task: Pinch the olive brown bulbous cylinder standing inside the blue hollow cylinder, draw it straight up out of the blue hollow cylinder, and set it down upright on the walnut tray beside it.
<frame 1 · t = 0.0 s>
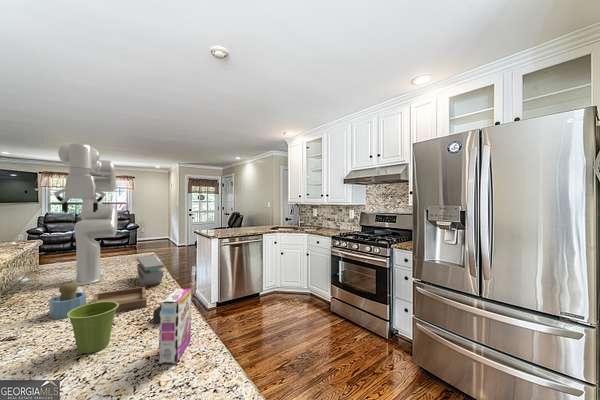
hand: (80, 212, 114), 37 cm above the countertop, tool pointing down, fingers open, 9 cm apart
smart speaker: (167, 319, 95), on the countertop
plant pot: (93, 347, 76), on the countertop
candy bar box: (176, 352, 74), on the countertop
tray: (120, 303, 107), on the countertop
olive brown bulbous cylinder: (68, 313, 99), resting in blue hollow cylinder
blue hollow cylinder: (68, 312, 99), on the countertop
grey lidded box: (149, 282, 135), on the countertop
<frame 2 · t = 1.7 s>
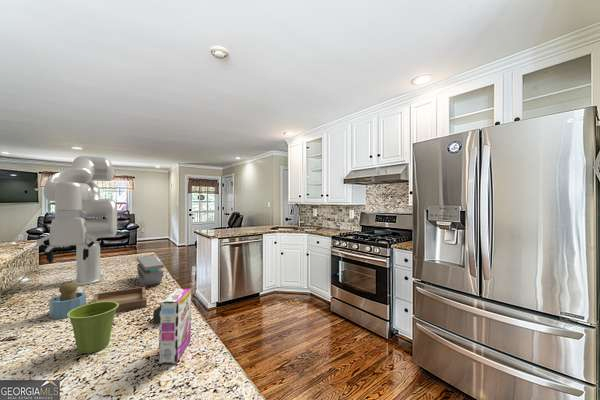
hand: (68, 260, 98), 20 cm above the countertop, tool pointing down, fingers open, 9 cm apart
nothing on the countertop moved.
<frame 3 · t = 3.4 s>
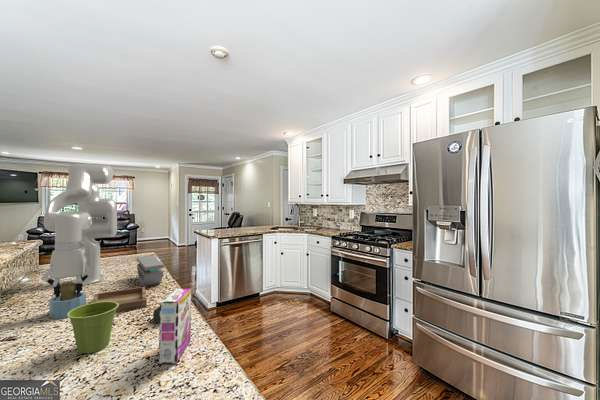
hand: (68, 294, 98), 7 cm above the countertop, tool pointing down, fingers closed on olive brown bulbous cylinder, 5 cm apart
olive brown bulbous cylinder: (68, 313, 99), resting in blue hollow cylinder, touching gripper
everything else where it was.
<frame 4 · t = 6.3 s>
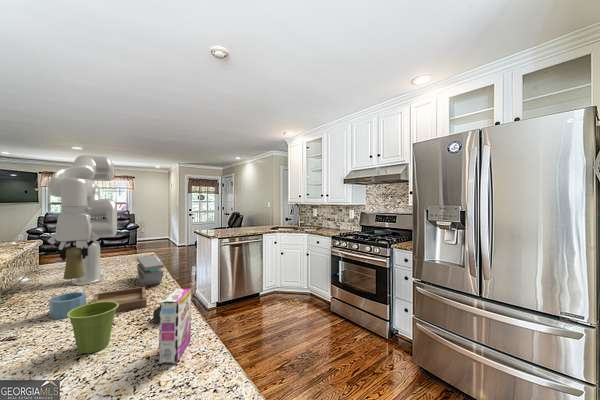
hand: (74, 258, 99), 20 cm above the countertop, tool pointing down, fingers closed on olive brown bulbous cylinder, 5 cm apart
olive brown bulbous cylinder: (74, 277, 99), point 13 cm above the countertop, touching gripper
everything else where it was.
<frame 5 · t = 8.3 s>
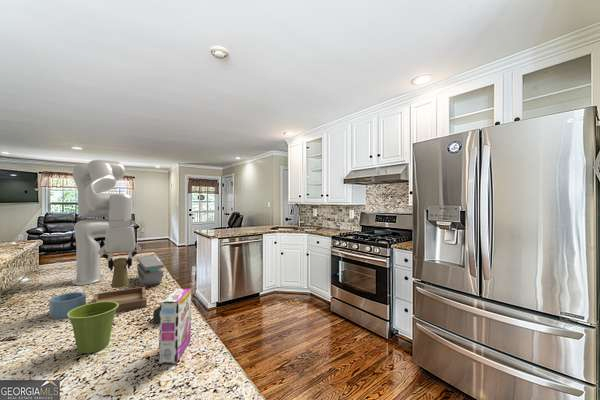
hand: (120, 268, 107), 15 cm above the countertop, tool pointing down, fingers closed on olive brown bulbous cylinder, 5 cm apart
olive brown bulbous cylinder: (120, 286, 107), point 7 cm above the countertop, touching gripper
everything else where it was.
when the fingers open (9 cm above the countertop, at t = 9.6 s): olive brown bulbous cylinder drops 1 cm, resting on tray.
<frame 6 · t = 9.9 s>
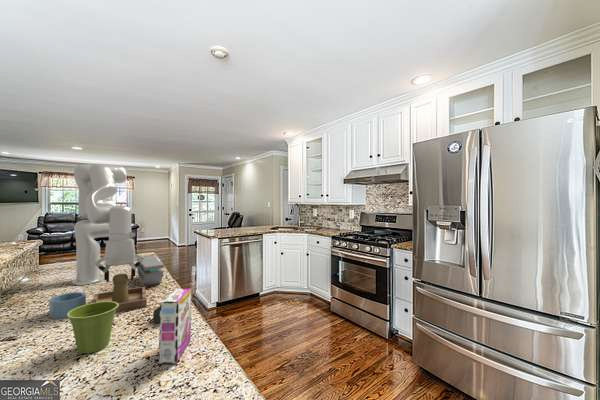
hand: (120, 279, 107), 10 cm above the countertop, tool pointing down, fingers open, 7 cm apart
olive brown bulbous cylinder: (120, 301, 107), point 1 cm above the countertop, touching tray
everything else where it was.
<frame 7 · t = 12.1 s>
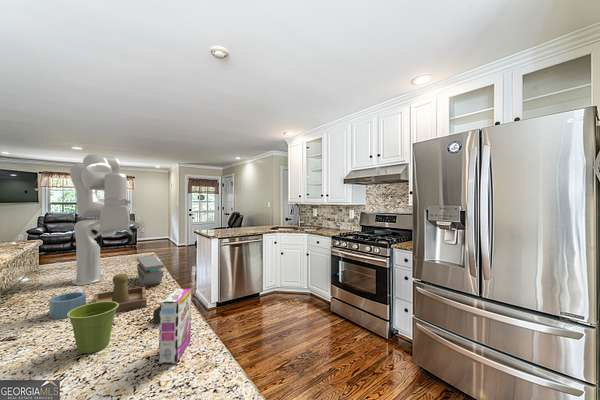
hand: (114, 244, 108), 24 cm above the countertop, tool pointing down, fingers open, 9 cm apart
nothing on the countertop moved.
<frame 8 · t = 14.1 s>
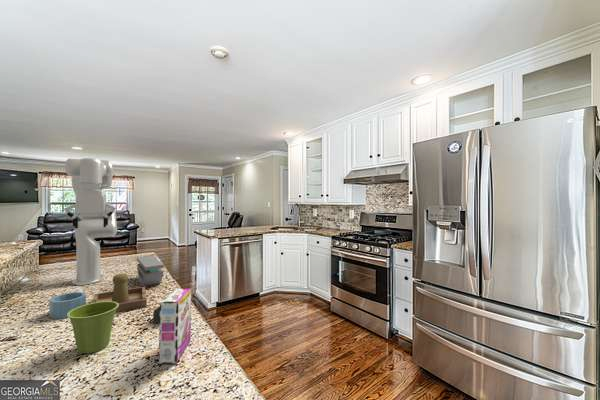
hand: (90, 227, 113), 30 cm above the countertop, tool pointing down, fingers open, 9 cm apart
nothing on the countertop moved.
at the end: olive brown bulbous cylinder inside the target area on the tray (0.2 cm from its centre), point 0.8 cm above the tray's base; olive brown bulbous cylinder tilted 0°; the gripper is holding nothing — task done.
